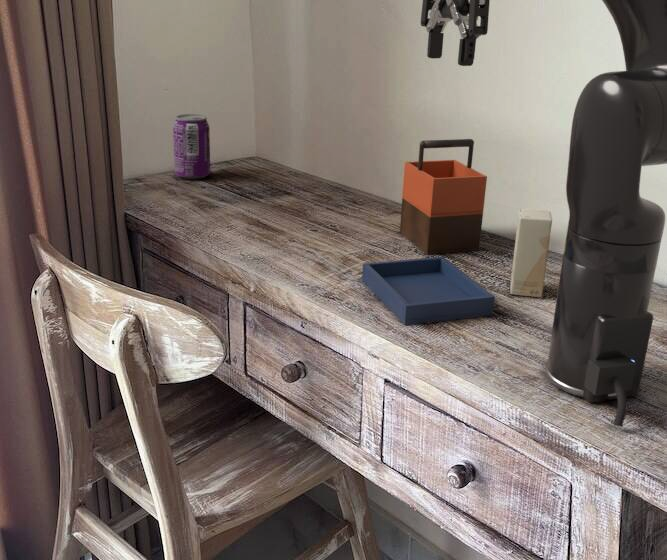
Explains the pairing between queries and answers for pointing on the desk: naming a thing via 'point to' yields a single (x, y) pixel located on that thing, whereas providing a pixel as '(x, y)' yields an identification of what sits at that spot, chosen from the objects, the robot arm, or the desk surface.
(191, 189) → the desk surface
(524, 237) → the box
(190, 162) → the beverage can
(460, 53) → the robot arm
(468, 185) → the top basket
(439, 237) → the box
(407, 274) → the tray
